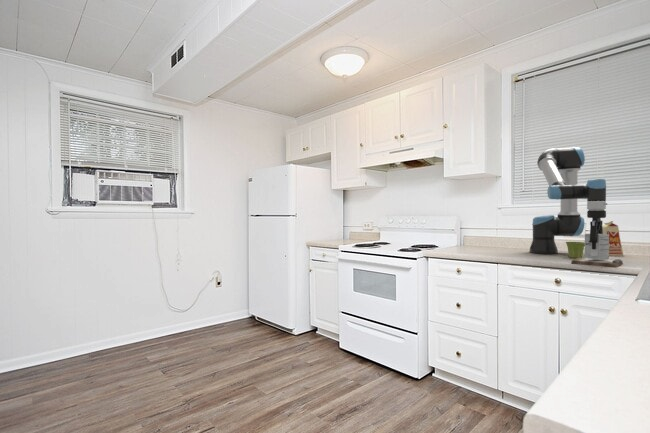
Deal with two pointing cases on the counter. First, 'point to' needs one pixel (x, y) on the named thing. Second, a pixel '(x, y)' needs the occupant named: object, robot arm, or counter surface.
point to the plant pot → (575, 249)
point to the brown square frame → (597, 262)
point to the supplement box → (602, 247)
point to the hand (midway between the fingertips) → (596, 254)
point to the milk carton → (613, 239)
